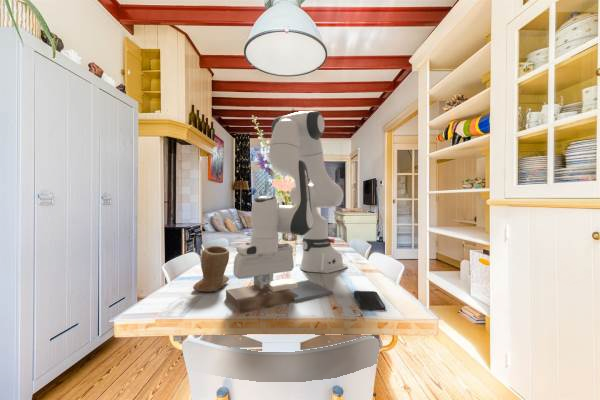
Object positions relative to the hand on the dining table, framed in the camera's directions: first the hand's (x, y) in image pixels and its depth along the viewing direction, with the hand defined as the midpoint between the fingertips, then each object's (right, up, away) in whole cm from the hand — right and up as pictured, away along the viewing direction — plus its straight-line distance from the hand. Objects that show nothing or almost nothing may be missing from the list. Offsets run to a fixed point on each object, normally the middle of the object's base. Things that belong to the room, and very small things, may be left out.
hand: (264, 287), depth 96 cm
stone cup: (-20, -4, +12) cm, 23 cm away
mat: (+13, -4, +7) cm, 15 cm away
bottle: (-2, -4, +13) cm, 14 cm away
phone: (+34, -5, -1) cm, 34 cm away
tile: (+5, -1, +3) cm, 6 cm away
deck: (-2, -4, -1) cm, 4 cm away
